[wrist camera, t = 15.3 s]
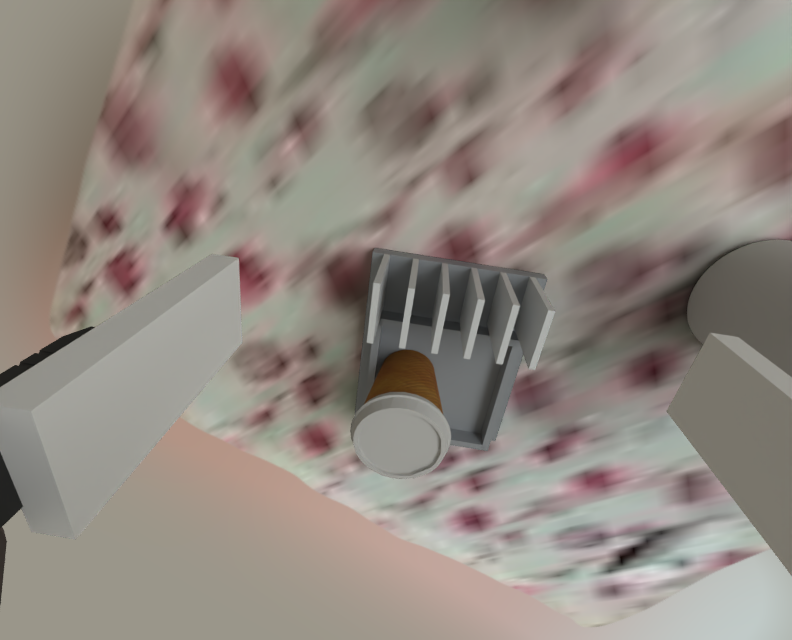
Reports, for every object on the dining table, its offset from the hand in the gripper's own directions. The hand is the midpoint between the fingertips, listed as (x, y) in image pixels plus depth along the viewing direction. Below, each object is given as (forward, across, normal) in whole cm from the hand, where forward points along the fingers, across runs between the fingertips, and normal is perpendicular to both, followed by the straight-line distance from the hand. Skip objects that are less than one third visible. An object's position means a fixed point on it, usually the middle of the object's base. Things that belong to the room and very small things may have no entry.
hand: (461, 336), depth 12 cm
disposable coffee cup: (+30, 0, -22) cm, 37 cm away
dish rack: (+32, +3, -19) cm, 37 cm away
